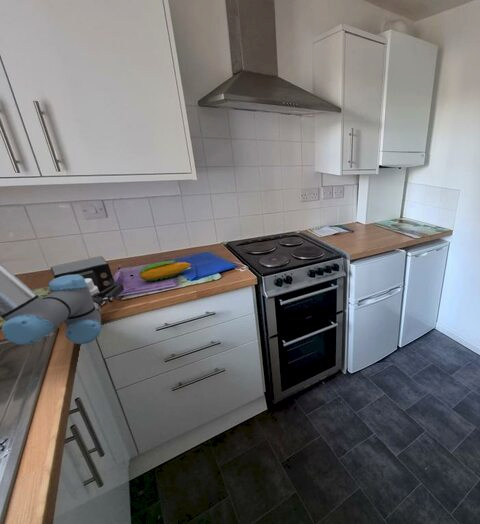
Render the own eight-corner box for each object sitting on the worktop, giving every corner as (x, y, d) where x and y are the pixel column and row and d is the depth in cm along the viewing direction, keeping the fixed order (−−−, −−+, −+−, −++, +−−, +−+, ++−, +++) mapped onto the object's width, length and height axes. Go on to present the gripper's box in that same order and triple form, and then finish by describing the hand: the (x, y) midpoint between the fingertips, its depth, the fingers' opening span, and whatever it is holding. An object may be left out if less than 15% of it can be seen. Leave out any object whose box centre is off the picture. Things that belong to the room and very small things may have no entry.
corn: (135, 264, 128) (186, 253, 140) (140, 279, 131) (189, 268, 143) (138, 270, 123) (191, 259, 135) (143, 286, 126) (194, 274, 138)
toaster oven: (61, 293, 120) (49, 266, 115) (110, 280, 130) (101, 255, 126) (65, 304, 112) (53, 276, 107) (117, 290, 122) (108, 263, 118)
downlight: (75, 310, 108) (64, 286, 104) (91, 299, 115) (81, 276, 111) (96, 310, 108) (86, 286, 104) (111, 300, 115) (102, 276, 110)
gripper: (37, 334, 91) (47, 305, 106) (135, 309, 105) (132, 286, 120) (27, 313, 88) (39, 286, 103) (129, 290, 102) (127, 269, 117)
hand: (89, 286), depth 112 cm, fingers open, 13 cm apart
